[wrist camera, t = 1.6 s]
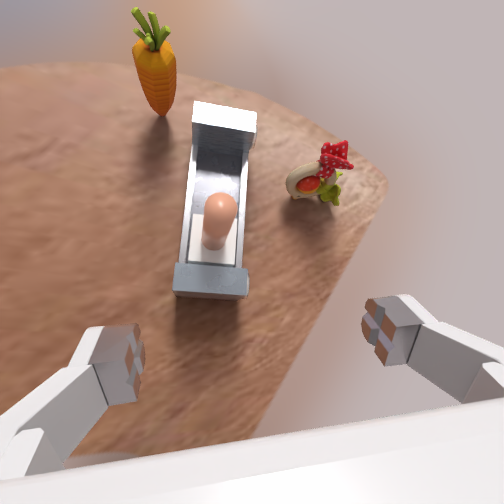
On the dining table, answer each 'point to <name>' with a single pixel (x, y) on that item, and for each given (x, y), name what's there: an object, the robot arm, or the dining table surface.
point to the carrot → (155, 63)
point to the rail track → (213, 181)
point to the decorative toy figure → (320, 174)
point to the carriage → (214, 232)
